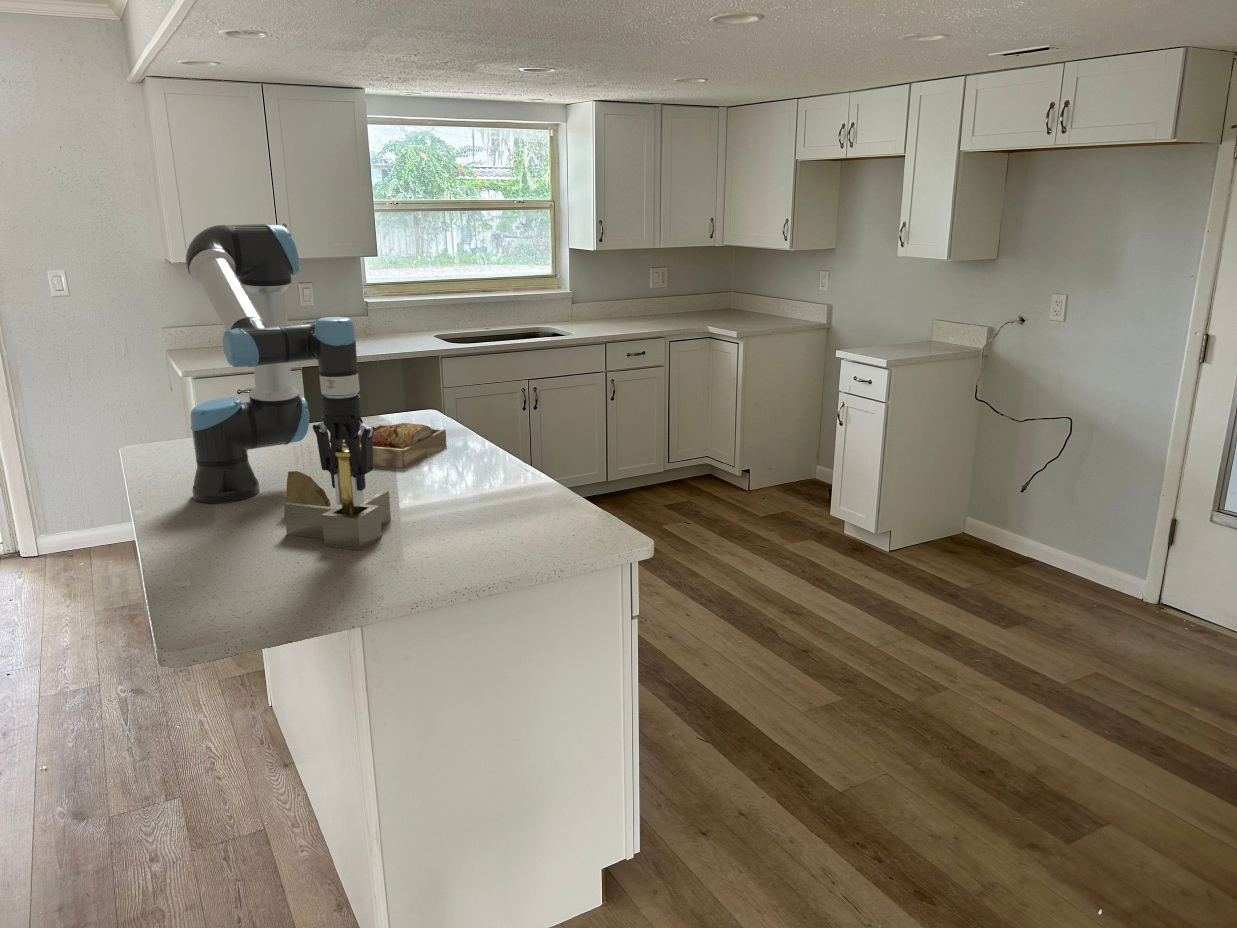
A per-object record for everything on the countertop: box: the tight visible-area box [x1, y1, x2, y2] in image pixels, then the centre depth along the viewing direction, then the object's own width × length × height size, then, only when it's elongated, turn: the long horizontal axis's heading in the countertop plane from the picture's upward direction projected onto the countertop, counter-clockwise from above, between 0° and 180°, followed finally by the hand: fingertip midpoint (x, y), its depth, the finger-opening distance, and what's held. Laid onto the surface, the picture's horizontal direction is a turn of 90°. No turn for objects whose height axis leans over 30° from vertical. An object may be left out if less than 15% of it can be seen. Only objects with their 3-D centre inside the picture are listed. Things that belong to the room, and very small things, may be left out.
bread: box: [360, 422, 433, 449], centre depth 254 cm, size 20×18×10 cm
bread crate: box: [342, 424, 448, 469], centre depth 255 cm, size 22×24×5 cm
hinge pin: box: [335, 448, 359, 516], centre depth 186 cm, size 4×4×16 cm
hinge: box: [283, 489, 392, 551], centre depth 195 cm, size 20×18×7 cm
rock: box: [284, 470, 332, 507], centre depth 207 cm, size 11×9×10 cm
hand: (350, 503), depth 187 cm, fingers closed on hinge pin, 3 cm apart
